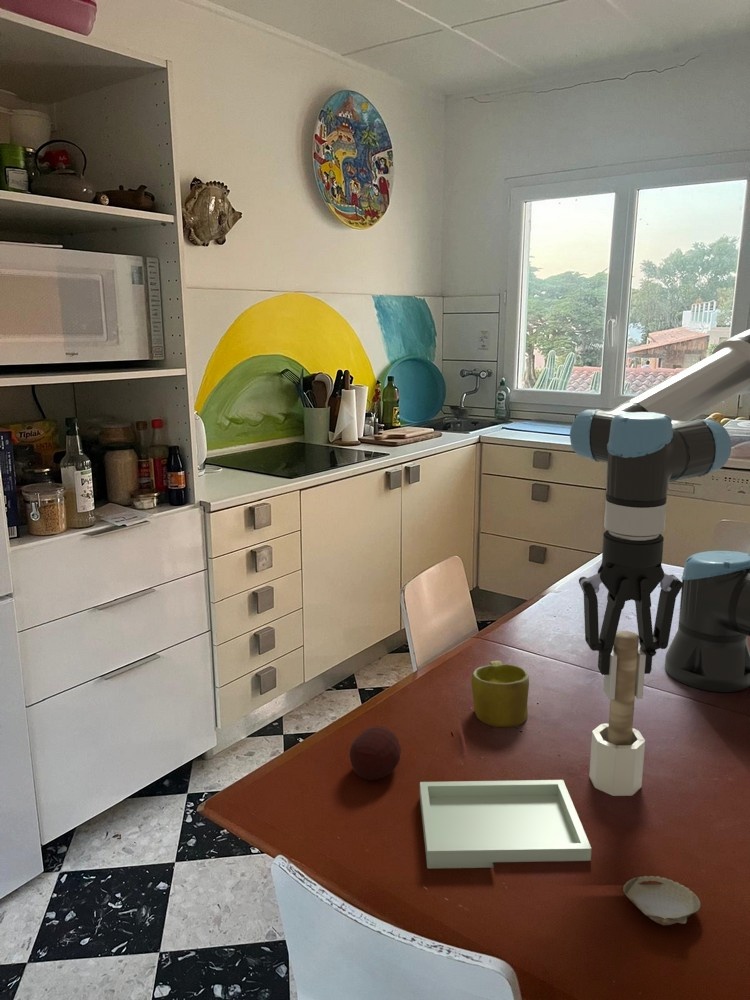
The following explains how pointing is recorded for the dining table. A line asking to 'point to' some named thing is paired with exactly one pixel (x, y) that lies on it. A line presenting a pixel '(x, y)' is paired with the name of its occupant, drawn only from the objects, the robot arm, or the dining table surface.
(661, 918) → the seashell
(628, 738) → the dowel
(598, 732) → the crock
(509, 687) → the mug
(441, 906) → the dining table surface
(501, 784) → the tray
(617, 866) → the dining table surface
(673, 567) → the dining table surface
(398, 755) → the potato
